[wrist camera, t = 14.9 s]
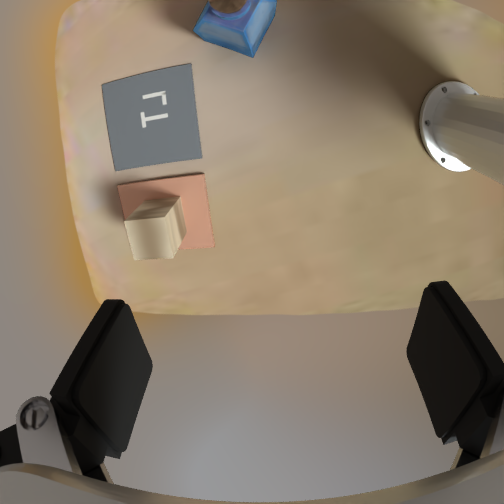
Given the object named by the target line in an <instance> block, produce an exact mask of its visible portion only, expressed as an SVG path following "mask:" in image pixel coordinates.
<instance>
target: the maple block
mask: <svg viewBox="0 0 504 504" xmlns="http://www.w3.org/2000/svg"><path fill="white" fill-rule="evenodd" d="M124 223H125V227H126V231H127V235H128V239H129V242H130V246H131V250H132V253H133V257H134V260H147V259H165V258H174V256H175V254H176V252H177V250H178V248H179V246H180V244H181V242H182V240H183V239H184V237H185V235H186V233H187V230H186V224H185V219H184V213H183V208H182V202H181V196H180V197H170V198H161V199H153V200H145V201H144V202H143V203H142V204H141V205H140V206H139V207H138V208H137V209H136V210H135V211H134V212H133V213H132V214H131V215H130V216H129V217H128V218H127V219H126V220H125V221H124Z"/></svg>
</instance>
